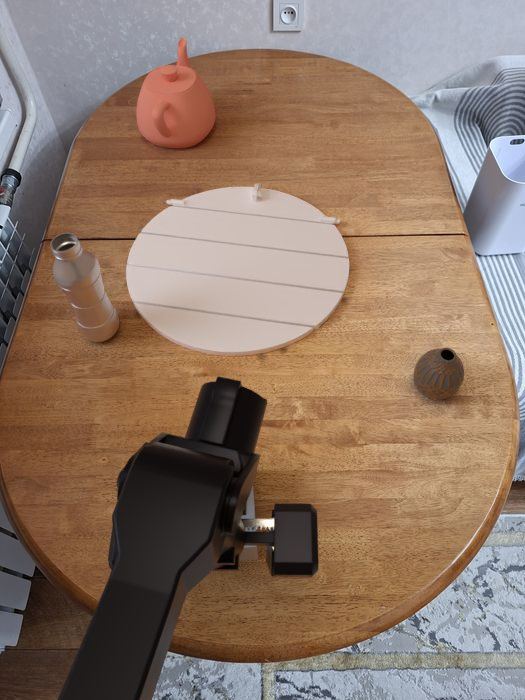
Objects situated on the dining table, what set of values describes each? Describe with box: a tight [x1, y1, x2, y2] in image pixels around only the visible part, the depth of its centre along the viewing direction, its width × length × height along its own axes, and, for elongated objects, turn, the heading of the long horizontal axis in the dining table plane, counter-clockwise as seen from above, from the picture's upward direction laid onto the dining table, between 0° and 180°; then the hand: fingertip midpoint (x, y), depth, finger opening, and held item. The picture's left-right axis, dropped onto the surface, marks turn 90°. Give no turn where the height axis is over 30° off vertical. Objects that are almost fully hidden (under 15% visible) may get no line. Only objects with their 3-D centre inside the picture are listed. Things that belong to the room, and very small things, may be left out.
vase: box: [413, 347, 465, 401], centre depth 79 cm, size 7×7×9 cm
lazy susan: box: [125, 182, 350, 357], centre depth 97 cm, size 40×39×3 cm
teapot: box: [136, 36, 217, 149], centre depth 116 cm, size 25×17×13 cm
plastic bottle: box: [50, 232, 120, 343], centre depth 82 cm, size 6×7×20 cm
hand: (224, 552), depth 58 cm, fingers open, 9 cm apart
